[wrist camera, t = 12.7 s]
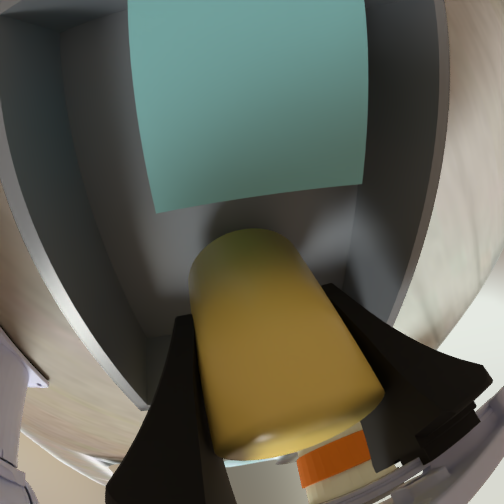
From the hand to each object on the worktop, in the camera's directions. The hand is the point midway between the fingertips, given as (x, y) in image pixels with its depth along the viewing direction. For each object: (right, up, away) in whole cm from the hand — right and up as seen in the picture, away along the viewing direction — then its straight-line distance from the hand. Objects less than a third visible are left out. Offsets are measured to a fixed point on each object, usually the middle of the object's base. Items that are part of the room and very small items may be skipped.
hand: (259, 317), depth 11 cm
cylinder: (-1, +1, +1) cm, 2 cm away
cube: (-1, +9, -2) cm, 9 cm away
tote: (-1, +6, +1) cm, 6 cm away
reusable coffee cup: (+9, -20, +22) cm, 32 cm away
